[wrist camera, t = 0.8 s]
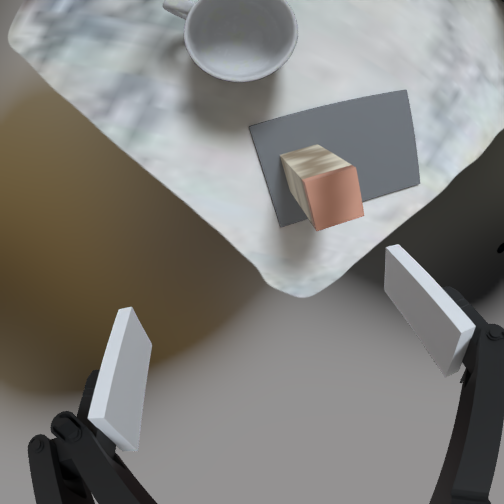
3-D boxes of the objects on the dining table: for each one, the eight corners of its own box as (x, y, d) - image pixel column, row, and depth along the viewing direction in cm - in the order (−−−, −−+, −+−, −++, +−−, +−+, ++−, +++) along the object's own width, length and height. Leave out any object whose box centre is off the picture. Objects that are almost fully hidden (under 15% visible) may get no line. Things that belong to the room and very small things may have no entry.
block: (317, 144, 37) (356, 167, 27) (326, 180, 40) (364, 215, 29) (279, 155, 37) (304, 182, 27) (290, 191, 40) (316, 231, 29)
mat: (405, 89, 34) (406, 89, 34) (418, 182, 41) (420, 183, 41) (248, 126, 36) (249, 126, 35) (280, 226, 43) (280, 227, 42)
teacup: (300, 39, 31) (321, 27, 24) (241, 101, 34) (248, 104, 27) (211, -26, 26) (210, -52, 19) (151, 37, 29) (134, 24, 22)
